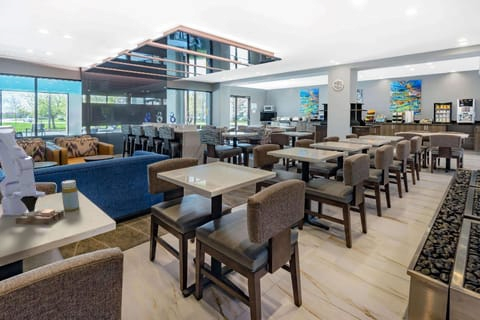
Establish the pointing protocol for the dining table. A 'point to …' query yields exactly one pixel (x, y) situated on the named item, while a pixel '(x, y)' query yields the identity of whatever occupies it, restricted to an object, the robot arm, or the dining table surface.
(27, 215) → the cream key
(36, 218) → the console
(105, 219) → the dining table surface
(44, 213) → the terracotta key
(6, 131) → the robot arm
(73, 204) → the bottle
